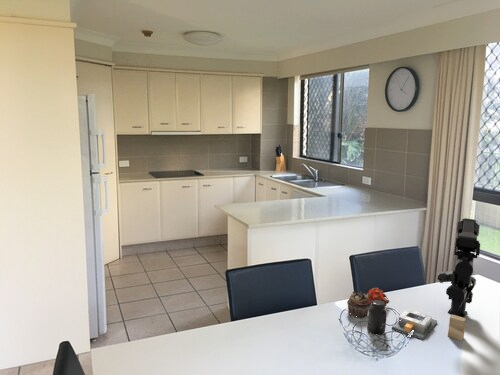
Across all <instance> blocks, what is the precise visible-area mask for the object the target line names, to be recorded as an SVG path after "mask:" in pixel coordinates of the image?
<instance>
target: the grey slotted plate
mask: <svg viewBox="0 0 500 375" xmlns="http://www.w3.org/2000/svg"><path fill="white" fill-rule="evenodd" d="M401 319H402V320H401ZM399 320H401V321H399ZM398 321H399V322H398V323H397V324H396V326H395V327H394V326H393V325H392V327H391V330H393V329H394V330H393V331H396V330H397V332H399V331H401V332H400V333H402V332H403V334H406V335H408V333H410V332H411V331H412V330H414V332H413V336H412V337H414V338H417V339H420V340H424V339H425V338H426V336H427V335H428V334H429V333H430V332H431V331H432V330H433V328H434V327H435V326H436V324H437V323H438V320H437V319H434V318H433V316H432V315H429V314H427V313H423V312H419V311H416V310H413V309H409V308H407V309H406V310H405V311H404V312H402V313H401V314H400V315H399V316H398Z"/></svg>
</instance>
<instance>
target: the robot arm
mask: <svg viewBox="0 0 500 375" xmlns="http://www.w3.org/2000/svg"><path fill="white" fill-rule="evenodd" d="M456 226H457V227H456V235H457V237H456V238H455V244H454V250H453V252H454V253H453V255H454V256H456V259H455V267H454V269H453V270H449V271H440V272H439V273H438V274H437V279H436V280H438V282H439V284H443V283H450V284H451V285H449V286H448V287H447V288H446V290H445V294H446V295H447V296H448V300H451V302H450V308H449V309H448V311H447V314H451V315H455V316H459V317H462V318H465V316H466V315H467V314H468V311H467V310H466V307H467V304H471V303H472V301H473V297H474V296H473V295H474V293H473V289H474V288H475V286H476V284H477V279H476V278H475V277H474V276H473V274H474V261H475V260H474V259H478V257H479V256H480V252H481V243H480V241H479V240H478V237H479V233H480V224H479V223H478V222H477V220H476V219H473V218H467V217H464V218H462V220H460V221H458V222H457V225H456Z"/></svg>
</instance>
